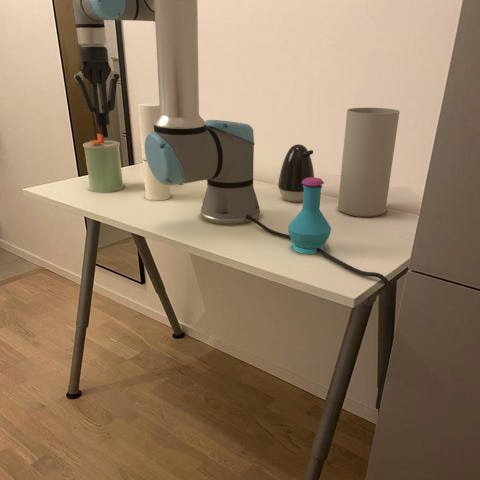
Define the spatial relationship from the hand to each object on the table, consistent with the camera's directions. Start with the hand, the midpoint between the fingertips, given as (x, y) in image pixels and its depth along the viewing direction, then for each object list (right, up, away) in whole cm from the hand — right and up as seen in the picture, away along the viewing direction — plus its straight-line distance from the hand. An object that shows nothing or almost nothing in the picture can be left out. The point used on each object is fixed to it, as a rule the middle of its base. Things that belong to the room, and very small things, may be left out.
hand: (104, 136), depth 149 cm
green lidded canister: (-1, -14, +7) cm, 15 cm away
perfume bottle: (+55, -39, -39) cm, 78 cm away
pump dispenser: (+56, -20, -5) cm, 60 cm away
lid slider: (-2, -2, 0) cm, 3 cm away
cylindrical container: (+16, -19, -2) cm, 25 cm away
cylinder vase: (+73, -25, -14) cm, 78 cm away
